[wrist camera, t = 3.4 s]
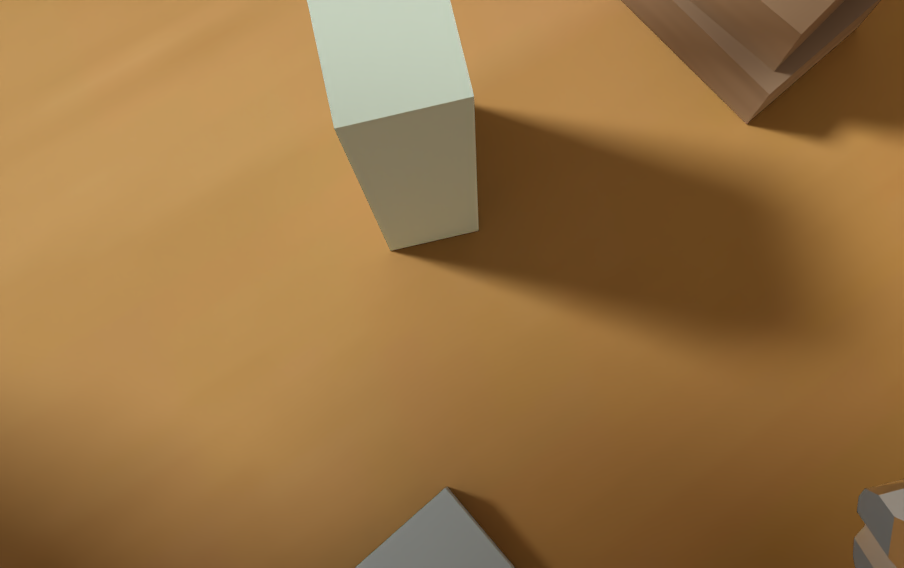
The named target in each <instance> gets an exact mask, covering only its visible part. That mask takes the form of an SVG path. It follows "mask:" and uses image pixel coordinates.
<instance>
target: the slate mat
mask: <svg viewBox="0 0 904 568" xmlns="http://www.w3.org/2000/svg"><path fill="white" fill-rule="evenodd" d="M355 568H515V567H514V566H513V565H512V563H511V562H510V561H509V560H508V559H507V557H506V556H505V555H504V554H503V553H502V551H501V550H500V549H499V548H498V547H497V546H496V544H495V543H494V542H493V541H492V540H491V538H490V537H489V536H488V535H487V534H486V532H485V531H484V530H483V529H482V528H481V526H480V525H479V524H478V523H477V522H476V520H475V519H474V518H473V517H472V516H471V515H470V513H469V512H468V511H467V510H466V509H465V507H464V506H463V505H462V504H461V503H460V501H459V500H458V499H457V498H456V497H455V495H454V494H453V493H452V492H451V491H450V489H449V488H448V487H446V488H444V489H443V490H442V491H441V492H440V493H439V494H438V495H436V496H435V497H434V498H433V499H432V500H431V501H430V502H429V503H427V504H426V505H425V506H424V507H423V508H422V509H421V510H420V511H418V512H417V513H416V514H415V515H414V516H413V517H412V518H411V519H409V520H408V521H407V522H406V523H405V524H404V525H403V526H401V527H400V528H399V529H398V530H397V531H396V532H395V533H394V534H392V535H391V536H390V537H389V538H388V539H387V540H386V541H385V542H383V543H382V544H381V545H380V546H379V547H378V548H377V549H376V550H374V551H373V552H372V553H371V554H370V555H369V556H368V557H367V558H365V559H364V560H363V561H362V562H361V563H360V564H359V565H357V566H356V567H355Z"/></svg>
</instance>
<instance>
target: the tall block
mask: <svg viewBox="0 0 904 568" xmlns="http://www.w3.org/2000/svg"><path fill="white" fill-rule="evenodd" d="M307 2H308V7H309V12H310V16H311V21H312V26H313V31H314V35H315V40H316V45H317V49H318V54H319V59H320V64H321V68H322V73H323V78H324V83H325V87H326V92H327V97H328V101H329V106H330V111H331V116H332V120H333V125H334V129H335V131H336V133H337V136H338V138H339V140H340V142H341V144H342V146H343V149H344V151H345V153H346V155H347V157H348V160H349V162H350V164H351V166H352V168H353V170H354V173H355V175H356V177H357V179H358V181H359V183H360V186H361V188H362V190H363V192H364V194H365V196H366V199H367V201H368V203H369V205H370V207H371V209H372V212H373V214H374V216H375V218H376V220H377V223H378V225H379V227H380V229H381V231H382V233H383V236H384V238H385V240H386V242H387V244H388V246H389V249H390V251H392V250H397V249H401V248H405V247H410V246H414V245H418V244H423V243H427V242H431V241H436V240H440V239H444V238H449V237H453V236H457V235H462V234H466V233H470V232H475V231H479V225H478V196H477V167H476V138H475V109H474V94H473V90H472V86H471V82H470V78H469V74H468V70H467V66H466V62H465V58H464V54H463V50H462V46H461V42H460V38H459V34H458V30H457V26H456V22H455V18H454V14H453V10H452V6H451V2H450V0H307Z"/></svg>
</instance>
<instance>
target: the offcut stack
mask: <svg viewBox="0 0 904 568" xmlns="http://www.w3.org/2000/svg"><path fill="white" fill-rule="evenodd" d="M621 1H622V2H623V3H624V4H625V5H626V6H627V7H628V8H630V9H631V10H632V11H633V12H634V13H635V14H636V15H637V16H638V17H639V18H640V19H641V20H642V21H643V22H644V23H645V24H646V25H647V26H648V27H649V28H650V29H651V30H652V31H653V32H654V33H655V34H656V35H657V36H658V37H659V38H660V39H661V40H662V41H663V42H664V43H665V44H666V45H667V46H668V47H669V48H670V49H671V50H672V51H673V52H674V53H675V54H676V55H677V56H678V57H679V58H680V59H681V60H682V61H683V62H684V63H685V64H686V65H687V66H688V67H689V68H690V69H691V70H692V71H693V72H694V73H695V74H696V75H697V76H698V77H699V78H700V79H701V80H702V81H703V82H705V83H706V84H707V85H708V86H709V87H710V88H711V89H712V90H713V91H714V92H715V93H716V94H717V95H718V96H719V97H720V98H721V99H722V100H723V101H724V102H725V103H726V104H727V105H728V106H729V107H730V108H731V109H732V110H733V111H734V112H735V113H736V114H737V115H738V116H739V117H740V118H741V119H742V120H743V121H744V122H745V123H746V124H747V123H748V122H750V121H751V120H752V119H753V118H754V117H755V116H756V115H758V114H759V113H760V112H761V111H762V110H763V109H764V108H766V107H767V106H768V105H769V104H770V103H771V102H772V101H774V100H775V99H776V98H777V97H778V96H779V95H781V94H782V93H783V92H784V91H785V90H786V89H787V88H789V87H790V86H791V85H792V84H793V83H794V82H795V81H797V80H798V79H799V78H800V77H801V76H802V75H804V74H805V73H806V72H807V71H808V70H809V69H810V68H812V67H813V66H814V65H815V64H816V63H817V62H818V61H820V60H821V59H822V58H823V57H824V56H825V55H826V54H828V53H829V52H830V51H831V50H832V49H833V48H835V47H836V46H837V45H838V44H839V43H840V42H841V41H843V40H844V39H845V38H846V37H847V36H848V35H849V34H851V33H852V32H853V31H854V30H855V29H856V28H857V27H859V25H860V24H861V23H862V22H863V21H864V20H865V18H866V17H867V16H868V15H869V14H870V13H871V11H872V10H873V9H874V8H875V7H876V6H877V4H878V3H879V2H880V1H881V0H621Z"/></svg>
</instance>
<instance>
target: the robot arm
mask: <svg viewBox="0 0 904 568" xmlns="http://www.w3.org/2000/svg"><path fill="white" fill-rule="evenodd" d="M857 512H858V514H859V515H860V517H861V518H862V520H863V521H864V523H865V524H866V525H865V526H864V527H863V528H862V529H861V531H860V532H859V533H858V534H857V535H856V536H855V537H854V548H853V560H854V564H855V568H904V479H902V480H898V481H894V482H890V483H886V484H882V485H878V486H873V487H869V488H865V489H864V490H863V492H862V493H861V494H860V495H859V499H858V507H857Z"/></svg>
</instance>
